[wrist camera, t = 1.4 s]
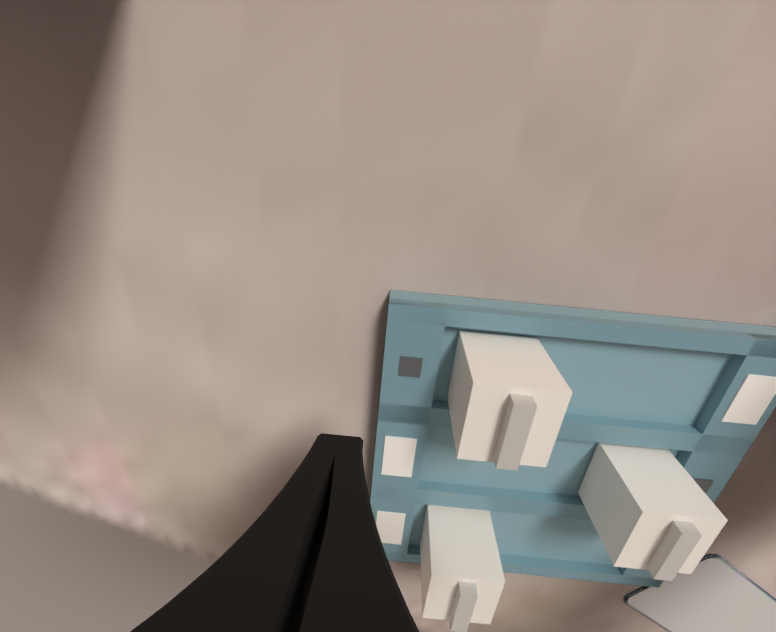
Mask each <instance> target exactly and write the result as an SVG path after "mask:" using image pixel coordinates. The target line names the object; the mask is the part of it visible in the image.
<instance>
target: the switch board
mask: <svg viewBox="0 0 776 632" xmlns="http://www.w3.org/2000/svg"><path fill="white" fill-rule="evenodd" d="M459 331H467V332H478V333H488V334H498V335H509V336H519V337H529V338H538V340H539V341H540V343H541V344H542V346H543V347H544V349H545V351H546V352H547V354H548V355H549V357H550V358H551V360H552V361H553V363H554V364H555V366H556V367H557V369H558V371H559V372H560V374H561V375H562V377H563V378H564V380H565V381H566V383H567V384H568V386H569V387H570V389H571V391H572V392H573V393H572V396H571V399H570V401H569V404H568V407H567V410H566V413H565V415H564V418H563V421H562V424H561V427H560V430H559V432H558V435H557V438H556V441H555V444H554V446H553V449H552V452H551V455H550V458H549V460H548V463H547V466H546V467H536V466H526V465H519V467H518V470H517V471H516V470H506V469H496V466H495V463H494V462H485V461H475V460H465V459H457V456H456V450H455V443H454V437H453V430H452V424H451V417H450V411H449V404H448V398H447V395H448V389H449V384H450V379H451V373H452V368H453V362H454V357H455V352H456V346H457V341H458V336H459ZM775 407H776V327H770V326H760V325H750V324H739V323H729V322H718V321H708V320H698V319H687V318H677V317H667V316H656V315H646V314H635V313H625V312H615V311H604V310H594V309H584V308H573V307H563V306H552V305H542V304H532V303H521V302H511V301H501V300H490V299H480V298H469V297H459V296H449V295H438V294H428V293H418V292H407V291H397V290H390V297H389V307H388V317H387V328H386V338H385V349H384V360H383V370H382V381H381V392H380V402H379V413H378V424H377V434H376V445H375V456H374V466H373V477H372V488H371V498H370V504H371V508H372V512H373V515H374V519H375V523H376V526H377V529H378V533H379V536H380V539H381V542H382V545H383V548H384V551H385V554H386V556H387V559H388V561H397V562H407V563H417V564H421V560H420V540H421V535H422V529H423V524H424V519H425V513H426V508H427V504H428V505H438V506H448V507H458V508H468V509H478V510H488V511H490V515H491V520H492V524H493V529H494V533H495V538H496V542H497V547H498V551H499V556H500V560H501V565H502V569H503V572H507V573H517V574H527V575H537V576H547V577H557V578H567V579H577V580H587V581H597V582H607V583H617V584H627V585H637V586H647V587H657V588H659V587H660V586H661V584H662V583H663V581H664V580H656V579H653V577H652V575H651V574H650V572H649V570H644V569H634V568H624V567H614V566H613V564H612V562H611V560H610V558H609V556H608V554H607V552H606V550H605V548H604V545H603V543H602V541H601V539H600V537H599V535H598V533H597V531H596V529H595V527H594V525H593V523H592V521H591V518H590V516H589V514H588V512H587V510H586V508H585V506H584V504H583V502H582V500H581V498H580V496H579V494H578V491H579V488H580V486H581V483H582V481H583V479H584V476H585V474H586V471H587V469H588V467H589V464H590V462H591V460H592V457H593V455H594V452H595V450H596V448H597V445H598V443H609V444H620V445H630V446H640V447H650V448H660V449H668V450H669V451H670V452H671V453H672V454H673V456H674V457H675V458H676V459H677V460H678V461H679V463H680V464H681V465H682V466H683V467H684V469H685V470H686V471H687V472H688V473H689V475H690V476H691V477H692V478H693V479H694V481H695V482H696V483H697V484H698V485H699V487H700V488H701V489H702V490H703V491H704V493H705V494H706V495H707V496H708V497H709V498H710V500H711V501H712V502H713V503H714V502H715V500H716V499H717V497H718V496H719V494H720V493H721V491H722V490H723V488H724V487H725V485H726V483H727V482H728V480H729V479H730V477H731V476H732V474H733V473H734V471H735V469H736V468H737V466H738V465H739V463H740V462H741V460H742V459H743V457H744V456H745V454H746V452H747V451H748V449H749V448H750V446H751V445H752V443H753V442H754V440H755V438H756V437H757V435H758V434H759V432H760V431H761V429H762V428H763V426H764V425H765V423H766V421H767V420H768V418H769V417H770V415H771V414H772V412H773V411H774V409H775Z"/></svg>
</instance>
